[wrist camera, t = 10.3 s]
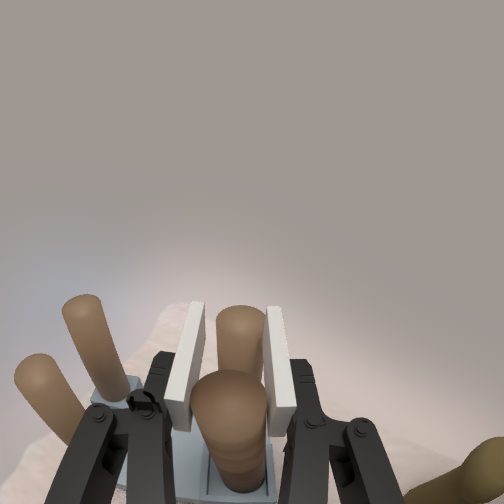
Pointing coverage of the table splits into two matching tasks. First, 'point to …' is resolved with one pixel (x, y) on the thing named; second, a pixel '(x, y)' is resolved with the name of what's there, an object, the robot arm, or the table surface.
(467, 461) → the cork
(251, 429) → the stool leg
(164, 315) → the table surface
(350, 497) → the robot arm
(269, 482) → the stool seat
